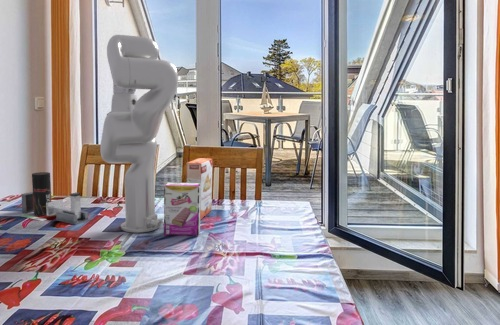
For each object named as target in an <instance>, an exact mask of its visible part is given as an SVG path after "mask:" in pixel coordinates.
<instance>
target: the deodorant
mask: <svg viewBox="0 0 500 325" xmlns="http://www.w3.org/2000/svg"><path fill="white" fill-rule="evenodd" d="M31 180H32V181H31V182H32V183H31V184H32V192H33V204H34V212H33V216H36V217H38V216H40V217H43V216H47V211H46V203H47V202H51V201H52V189H51V188H52V187H51V186H52V185H51V172H46V171H41V172H39V171H38V172H34V173H32V174H31Z"/></svg>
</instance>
